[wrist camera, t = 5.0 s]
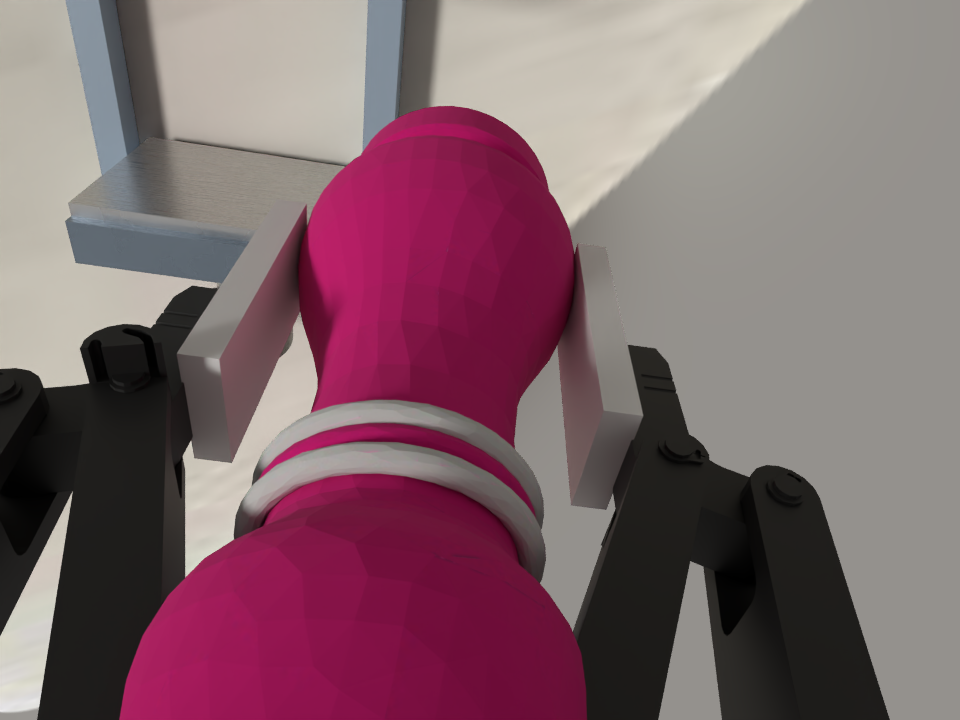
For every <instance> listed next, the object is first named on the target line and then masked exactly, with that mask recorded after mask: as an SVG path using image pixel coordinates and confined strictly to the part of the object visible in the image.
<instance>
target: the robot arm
mask: <svg viewBox="0 0 960 720" xmlns="http://www.w3.org/2000/svg"><path fill="white" fill-rule="evenodd" d="M306 228H307V203H301V202H294V201H288V200H281V199H277V200H276V201H275V203H274V205H273V206H272V208H271V209H270V211H269V212H268V214H267V215H266V217H265V218H264V220H263V221H262V223H261V225H260V226H259V228H258V229H257V231H256V232H255V234H254V235H253V237H252V238H251V240H250V241H249V243H248V245H247V246H246V248H245V249H244V251H243V252H242V254H241V255H240V257H239V258H238V260H237V261H236V263H235V265H234V266H233V268H232V269H231V271H230V272H229V274H228V275H227V277H226V278H225V280H224V281H223V283H222V285H221V286H220V288H219V289H213V288H205V287H198V286H191V287H189V288H188V289H186V290H184V291H183V292H181V293H179V294H178V295H176V296H175V297H174V298H173V299H172V300H171V302H170V303H169V304H168V306H167V307H166V309H165V310H164V313H162V314H161V315H160V317H159V318H158V319H157V321H156V324H154V325H153V326H152V328H148V327H144V326H141V325H132V324H122V325H116V326H110V327H107V328H104V329H101V330H99V331H96V332H94V333H93V334H92V335H90V336H89V337H88V338H86V339H85V340H84V342H83V344H82V346H81V347H80V351H81V354H82V358H83V361H84V365H85V368H86V372H87V376H88V379H89V384H83V385H76V386H64V387H53V388H43V385H42V382H41V380H40V378H39V376H37V375H36V374H34V373H32V372H31V371H28V370H23V369H17V368H12V369H0V635H1V633H2V631H3V629H4V627H5V625H6V623H7V621H8V619H9V617H10V615H11V613H12V611H13V609H14V607H15V605H16V603H17V601H18V599H19V597H20V595H21V593H22V591H23V589H24V587H25V585H26V583H27V581H28V579H29V577H30V575H31V573H32V571H33V569H34V567H35V565H36V563H37V561H38V559H39V557H40V555H41V553H42V551H43V549H44V547H45V545H46V543H47V541H48V539H49V537H50V535H51V533H52V531H53V529H54V527H55V525H56V523H57V521H58V519H59V517H60V515H61V513H62V511H63V509H64V507H65V505H66V503H67V501H68V499H69V497H70V495H71V493H72V491H73V494H72V501H71V507H70V514H69V520H68V526H67V533H66V539H65V546H64V552H63V558H62V565H61V571H60V578H59V584H58V590H57V597H56V603H55V610H54V616H53V622H52V629H51V635H50V642H49V648H48V654H47V661H46V667H45V674H44V680H43V686H42V693H41V699H40V706H39V712H38V719H37V720H119V719H120V713H121V707H122V701H123V695H124V690H125V684H126V680H127V677H128V674H129V671H130V668H131V666H132V663H133V660H134V657H135V655H136V652H137V649H138V647H139V644H140V641H141V639H142V636H143V634H144V633H145V631H146V629H147V628H148V626H149V625H150V623H151V622H152V620H153V619H154V617H155V615H156V614H157V612H158V611H159V609H160V608H161V606H162V604H163V603H164V601H165V600H166V598H167V597H168V595H169V594H170V593H171V592H172V591H173V590H174V589H175V588H176V587H177V586H178V585H179V584H180V583H181V582H182V581H183V580H184V579H185V467H184V462H183V457H182V456H183V454H184V452H185V450H186V448H187V447H188V445H189V443H190V441H192V447H193V453H194V458H197V459H205V460H213V461H221V462H229V463H232V461H233V459H234V457H235V455H236V452H237V450H238V448H239V446H240V444H241V441H242V439H243V437H244V435H245V432H246V430H247V428H248V426H249V423H250V421H251V419H252V417H253V415H254V412H255V410H256V408H257V406H258V403H259V401H260V399H261V397H262V395H263V392H264V390H265V388H266V386H267V383H268V381H269V379H270V377H271V374H272V372H273V370H274V368H275V366H276V363H277V361H278V359H279V357H280V354H281V352H282V350H283V348H284V345H285V343H286V341H287V339H288V337H289V334H290V332H291V330H292V328H293V325H294V323H295V321H296V319H297V317H298V314H299V312H300V307H299V283H298V262H299V256H300V249H301V243H302V240H303V237H304V234H305V231H306ZM558 357H559V368H560V380H561V392H562V404H563V416H564V427H565V439H566V451H567V463H568V474H569V486H570V498H571V505H573V506H582V507H589V508H597V509H605V510H606V509H607V506H608V504H609V501H610V499H611V496H612V494H613V495H614V501H615V507H616V509H615V512H614V514H613V517H612V519H611V522H610V524H609V527H608V529H607V531H606V534H605V537H604V539H603V541H602V544H601V545H602V548H601V551H600V554H599V557H598V560H597V563H596V565H595V568H594V571H593V574H592V577H591V580H590V583H589V586H588V589H587V592H586V595H585V598H584V601H583V604H582V606H581V609H580V612H579V615H578V618H577V621H576V624H575V627H574V630H573V634H574V636H575V639H576V641H577V644H578V646H579V649H580V652H581V656H582V662H583V670H584V678H585V685H586V706H587V720H658V718H659V713H660V708H661V702H662V698H663V693H664V688H665V682H666V678H667V673H668V668H669V663H670V658H671V653H672V648H673V643H674V638H675V633H676V628H677V623H678V619H679V614H680V608H681V604H682V599H683V594H684V589H685V584H686V579H687V574H688V569H689V564H690V561H692V562H694V563H697V564H699V565H701V566H703V567H704V575H705V583H706V591H707V599H708V607H709V616H710V624H711V632H712V641H713V648H714V657H715V665H716V674H717V682H718V690H719V697H720V707H721V715H722V720H890V719H889V716H888V713H887V710H886V706H885V703H884V700H883V697H882V694H881V691H880V687H879V684H878V681H877V678H876V675H875V672H874V668H873V665H872V662H871V659H870V656H869V653H868V649H867V646H866V643H865V640H864V637H863V634H862V630H861V627H860V624H859V621H858V618H857V614H856V612H855V608H854V605H853V602H852V599H851V595H850V592H849V589H848V586H847V583H846V580H845V576H844V573H843V570H842V567H841V564H840V560H839V557H838V554H837V551H836V548H835V545H834V541H833V539H832V535H831V532H830V529H829V526H828V522H827V519H826V517H825V513H824V510H823V507H822V504H821V500H820V498H819V496H818V494H817V492H816V490H815V489H814V488H813V486H812V485H811V484H810V483H808V481H806V479H805V478H803V477H801V476H800V475H798V474H796V473H795V472H793V471H791V470H788V469H785V468H783V467H779V466H770V465H766V466H762V467H759V468H757V469H756V470H755V471H754V472H753V473H752V474H751V476H750V477H747V476H745V475H741V474H739V473H736V472H734V471H731V470H728V469H726V468H723V467H721V466H719V465H717V464H715V463H713V462H712V461H710V460H709V454H708V452H707V451H706V449H705V448H704V446H703V445H702V444H701V443H700V442H699V441H698V440H697V439H696V438H694V437H692V436H691V435H689V433H688V430H687V426H686V424H685V420H684V416H683V413H682V409H681V406H680V402H679V399H678V395H677V394H676V389H675V385H674V382H673V381H672V379H673V378H672V375H671V372H670V368H669V365H668V363H667V361H666V360H665V359H664V358H663V357H662V356H661V355H660V353H659V352H658V351H657V350H656V349H655V348H647V347H640V346H633V345H627V341H626V336H625V331H624V327H623V322H622V318H621V313H620V309H619V304H618V300H617V296H616V291H615V286H614V282H613V277H612V273H611V268H610V264H609V260H608V255H607V251H606V247H600V246H594V245H587V244H580V243H578V244H577V247H576V252H575V259H574V294H573V301H572V305H571V309H570V313H569V317H568V321H567V323H566V326H565V328H564V331H563V333H562V336H561V338H560V341H559V343H558Z"/></svg>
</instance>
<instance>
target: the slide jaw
mask: <svg viewBox="0 0 960 720" xmlns="http://www.w3.org/2000/svg"><path fill="white" fill-rule="evenodd" d="M343 168H345V166H338V165H332V164H325V163H319V162H312V161H305V160H299V159H292V158H285V157H279V156H272V155H266V154H259V153H252V152H246V151H239V150H233V149H226V148H219V147H213V146H206V145H200V144H193V143H186V142H180V141H173V140H167V139H160V138H153V137H149V138H148V139H147V140H146V141H144V142H143V143H142V144H141V145H139V146H138V147H137V148H136V149H134V150H133V151H132V152H131V153H129V154H128V155H127V156H126V157H124V158H123V159H122V160H121V161H120V162H118V163H117V164H116V165H115V166H113V167H112V168H111V169H110V170H108V171H107V172H106V173H105V174H103V175H102V176H101V177H100V178H98V179H97V180H96V181H95V182H93V183H92V184H91V185H90V186H88V187H87V188H86V189H85V190H84V191H82V192H81V193H80V194H79V195H77V196H76V197H75V198H74V199H72V200H71V201H70V202H69V203H68V204H69V208H70V212H71V217H70V218H68V219H67V220H66V221H65V222H66V226H67V230H68V234H69V238H70V242H71V246H72V250H73V254H74V258H75V262H76V263H81V264H88V265H95V266H102V267H110V268H117V269H124V270H131V271H138V272H145V273H152V274H159V275H166V276H174V277H181V278H188V279H195V280H202V281H209V282H216V283H217V288H213V289H219V288H220V286H221V285H222V283H223V281H224V280H225V278H226V277H227V275H228V274H229V272H230V271H231V269H232V268H233V266H234V265H235V263H236V261H237V260H238V258H239V257H240V255H241V254H242V252H243V251H244V249H245V248H246V246H247V245H248V243H249V241H250V240H251V238H252V237H253V235H254V234H255V232H256V231H257V229H258V228H259V226H260V225H261V223H262V221H263V220H264V218H265V217H266V215H267V214H268V212H269V211H270V209H271V208H272V206H273V205H274V203H275V201H276V200H277V199H281V200H288V201H294V202H301V203H307V225H308V222H309V219H310V216H311V213H312V210H313V208H314V206H315V204H316V202H317V201H318V199H319V197H320V195H321V193H322V192H323V190H324V189H325V188H326V187H327V185H328V184H329V183H330V182H331V181H332V179H333V178H334V177H335V176H336V175H337V174H338V173H339V172H340V171H341V170H342V169H343ZM292 340H293V328H292V330H291V332H290V334H289V337H288V339H287V341H286V343H285V345H284V348H283V350H282V352H281V354H280V357H281V356H282V355H283V354H284V353H286V351H287V350H288V349H289V347H290V346H291V343H292ZM280 357H279V358H280Z"/></svg>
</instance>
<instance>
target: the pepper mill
mask: <svg viewBox="0 0 960 720" xmlns="http://www.w3.org/2000/svg"><path fill="white" fill-rule="evenodd" d="M574 259H575V254H574V250H573V245H572V240H571V235H570V231H569V228H568V225H567V223H566V221H565V218H564V216H563V214H562V212H561V210H560V208H559V206H558V204H557V202H556V200H555V199H554V197H553V196H552V195H551V194H550V192H549V189H548V184H547V180H546V177H545V174H544V171H543V168H542V166H541V164H540V162H539V160H538V159H537V157H536V155H535V153H534V152H533V150H532V149H531V148H530V147H529V145H528V144H527V143H526V141H525V140H524V139H523V138H522V137H521V136H520V135H519V134H518V133H517V132H515V131H514V130H513V129H511V128H510V127H509V126H508V125H506V124H504V123H503V122H501V121H499V120H498V119H496V118H494V117H492V116H490V115H487V114H485V113H482V112H479V111H476V110H472V109H469V108H462V107H455V106H437V107H429V108H423V109H420V110H417V111H413V112H410V113H408V114H405V115H403V116H401V117H399V118H397V119H396V120H394V121H392V122H391V123H389V124H388V125H386V126H385V127H384V128H383V129H381V130H380V131H379V132H378V133H377V134H376V135H375V136H374V137H373V138H372V139H371V141H370V142H369V144H368V145H367V146H366V148H365V149H364V151H363V152H362V154H361V156H359V157H357V158H356V159H354V160H353V161H352V162H351V163H349V164H348V165H347V166H346V167H345V168H343V169H342V170H341V171H340V172H339V173H338V174H337V175H336V176H335V177H334V178H333V179H332V181H331V182H330V183H329V184H328V185H327V187H326V188H325V189H324V190H323V192H322V193H321V195H320V197H319V199H318V201H317V202H316V204H315V206H314V208H313V210H312V213H311V216H310V219H309V222H308V225H307V228H306V231H305V234H304V237H303V240H302V243H301V249H300V256H299V262H298V283H299V307H300V312H301V317H302V321H303V325H304V329H305V332H306V335H307V338H308V341H309V344H310V348H311V351H312V354H313V357H314V362H315V367H316V372H317V377H318V389H317V393H316V396H315V400H314V403H313V407H312V410H311V413H310V414H308V415H307V416H305V417H303V418H301V419H299V420H297V421H296V422H294V423H293V424H291V425H290V426H288V427H287V428H285V429H284V430H283V431H281V432H280V433H279V434H278V435H277V437H276V438H275V439H274V440H273V441H272V442H271V443H270V444H269V445H268V447H267V448H266V449H265V450H264V451H263V452H262V455H261V457H260V459H259V461H258V463H257V466H256V468H255V470H254V474H253V481H252V487H251V488H250V489H249V491H248V492H247V494H246V495H245V497H244V498H243V500H242V501H241V504H240V506H239V509H238V511H237V514H236V519H235V528H234V540H233V541H231V542H230V543H228V544H227V545H225V546H223V547H222V548H220V549H219V550H217V551H215V552H214V553H212V554H211V555H209V556H208V557H206V558H204V559H203V560H202V561H201V562H200V563H199V565H198V566H197V567H196V568H195V569H194V570H193V571H192V572H191V573H190V574H189V575H188V576H187V577H186V578H185V579H184V580H183V581H182V582H181V583H180V584H179V585H178V586H177V587H176V588H175V589H174V590H173V591H172V592H171V593H170V594H169V595H168V597H167V598H166V600H165V601H164V603H163V604H162V606H161V608H160V609H159V611H158V612H157V614H156V615H155V617H154V619H153V620H152V622H151V623H150V625H149V626H148V628H147V629H146V631H145V633H144V634H143V636H142V639H141V641H140V644H139V647H138V649H137V652H136V655H135V657H134V660H133V663H132V666H131V668H130V671H129V674H128V677H127V680H126V684H125V690H124V695H123V701H122V707H121V713H120V719H119V720H587V706H586V685H585V678H584V670H583V662H582V656H581V652H580V649H579V646H578V644H577V641H576V639H575V636H574V634H573V632H572V629H571V627H570V625H569V623H568V622H567V620H566V619H565V617H564V616H563V614H562V613H561V612H560V610H559V609H558V607H557V606H556V604H555V602H554V601H553V600H552V598H551V597H550V595H549V594H548V593H547V591H546V590H545V589H544V588H543V587H542V586H541V584H540V582H541V580H542V576H543V571H544V566H545V561H546V554H545V544H544V540H543V537H542V533H541V529H542V524H543V518H544V507H543V497H542V494H541V490H540V486H539V484H538V482H537V480H536V477H535V475H534V473H533V471H532V470H531V469H530V467H529V466H528V464H527V463H526V462H525V460H524V459H523V458H522V457H521V456H520V455H519V454H518V452H517V451H516V450H515V445H514V437H515V427H516V426H515V425H516V416H517V406H518V403H519V401H520V398H521V396H522V395H523V393H524V392H525V390H526V389H527V387H528V386H529V385H530V384H531V383H532V381H533V380H534V379H535V378H536V376H537V375H538V374H539V373H540V371H541V370H542V369H543V367H544V366H545V365H546V364H547V362H548V361H549V360H550V358H551V356H552V354H553V352H554V350H555V348H556V346H557V345H558V343H559V341H560V338H561V336H562V333H563V331H564V328H565V326H566V323H567V321H568V317H569V313H570V309H571V305H572V301H573V294H574Z"/></svg>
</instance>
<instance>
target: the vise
mask: <svg viewBox="0 0 960 720" xmlns="http://www.w3.org/2000/svg"><path fill="white" fill-rule="evenodd" d="M66 5H67V10H68V14H69V19H70V24H71V29H72V34H73V38H74V43H75V48H76V53H77V58H78V62H79V67H80V72H81V77H82V82H83V86H84V91H85V96H86V101H87V106H88V110H89V115H90V120H91V125H92V130H93V134H94V139H95V144H96V149H97V154H98V158H99V163H100V168H101V173H102V175H103V174H105V173H106V172H107V171H108V170H110V169H111V168H112V167H113V166H115V165H116V164H117V163H118V162H120V161H121V160H122V159H123V158H124V157H126V156H127V155H128V154H129V153H131V152H132V151H133V150H134V149H136V148H137V147H138V146H139V145H140V143H139V137H138V132H137V126H136V120H135V114H134V108H133V102H132V96H131V90H130V84H129V78H128V72H127V66H126V60H125V54H124V48H123V42H122V36H121V30H120V24H119V19H118V13H117V7H116V1H115V0H66ZM405 12H406V0H368V18H367V46H366V73H365V100H364V128H363V151H364V149H365V148H366V146H367V145H368V144H369V142H370V141H371V139H372V138H373V137H374V136H375V135H376V134H377V133H378V132H379V131H380V130H381V129H383V128H384V127H385V126H386V125H388V124H389V123H391V122H392V121H394V120H396V119H397V118H398V116H399V101H400V86H401V71H402V57H403V42H404V27H405Z"/></svg>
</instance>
